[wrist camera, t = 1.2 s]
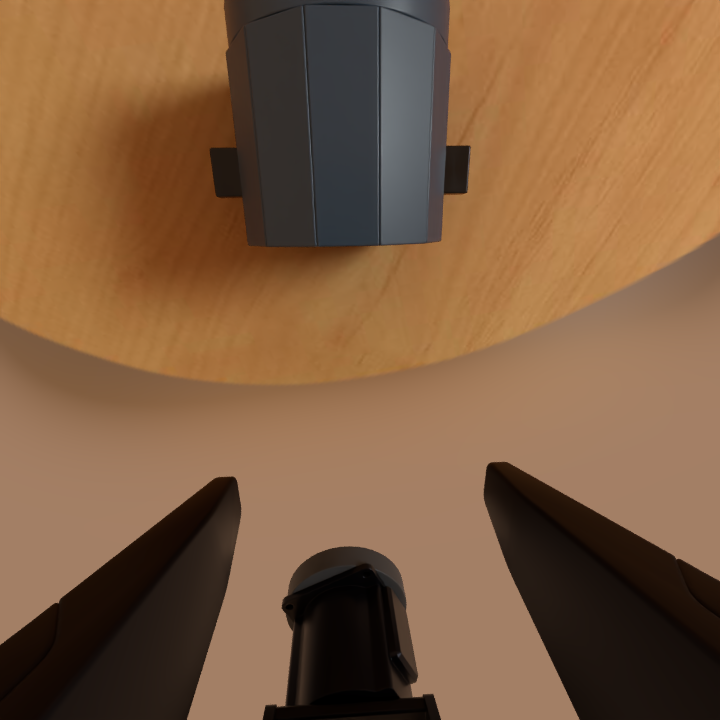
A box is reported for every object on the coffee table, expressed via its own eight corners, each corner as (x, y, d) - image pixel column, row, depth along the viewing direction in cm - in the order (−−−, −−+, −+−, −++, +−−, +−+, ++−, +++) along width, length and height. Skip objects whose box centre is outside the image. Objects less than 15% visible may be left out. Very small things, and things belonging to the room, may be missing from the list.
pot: (438, 238, 18) (499, 242, 11) (245, 242, 18) (189, 250, 11) (446, 67, 16) (530, -56, 9) (224, 66, 15) (137, -65, 8)
